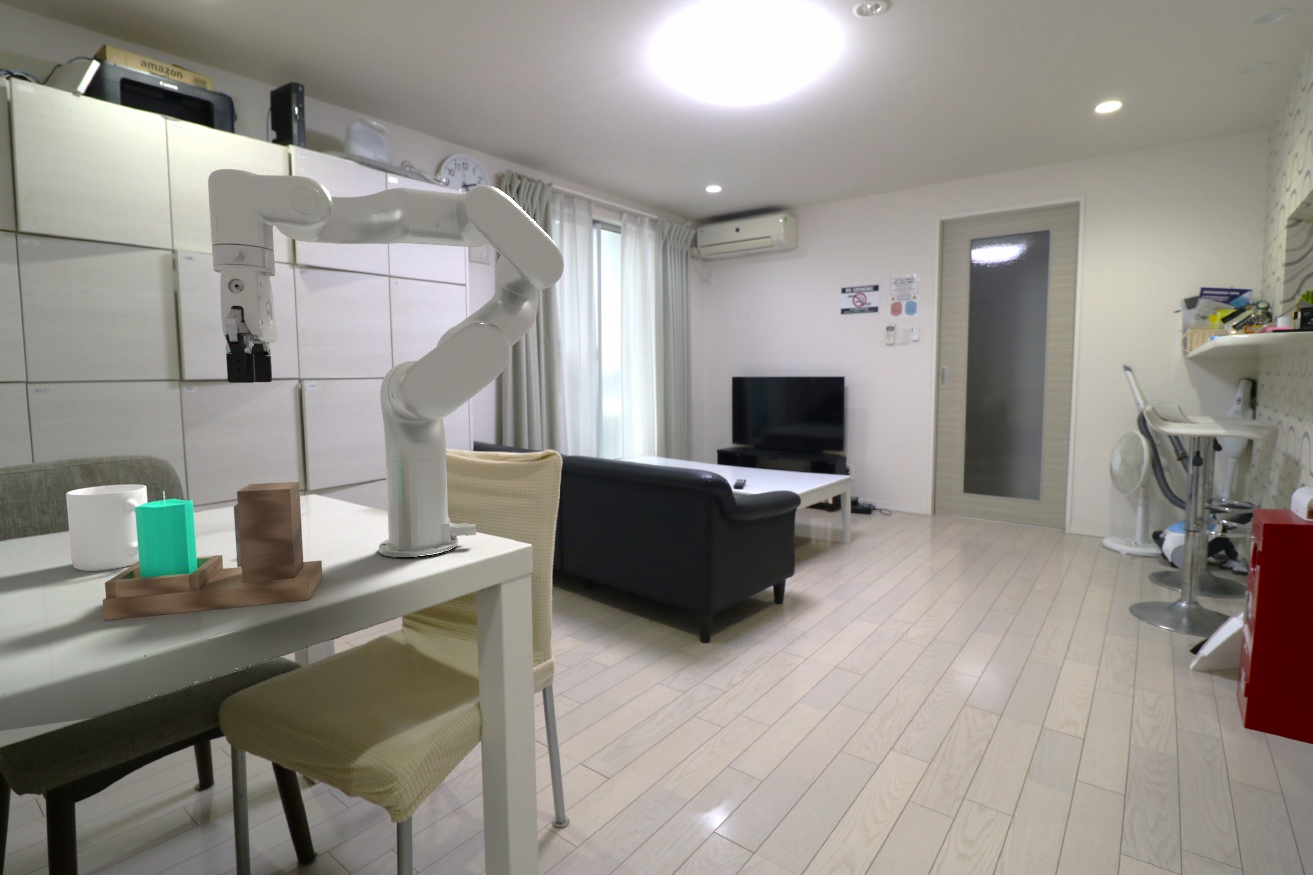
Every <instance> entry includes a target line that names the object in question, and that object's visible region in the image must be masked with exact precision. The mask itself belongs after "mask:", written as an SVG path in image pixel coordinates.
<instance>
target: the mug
mask: <svg viewBox="0 0 1313 875" xmlns="http://www.w3.org/2000/svg"><path fill="white" fill-rule="evenodd" d="M65 497H66V508H67V509H66V510H67V521H68V533H69V544H70V556H71V563H72V566H73V567H74V568H75V569H76V570H78V571H81V570H82V572H101V570H102V571H103V570H104V571H111V570H117V569H116V568H118V569H122V567H124V568H128V567H131V566H132V565H134V564H136V563H137V562H139V553H138V540H137V527H136V514H135V507H137V506H139V505H142V504H144V503H148V492H147V485H144V484H111V485H100V486H99V485H98V486H92V487H91V486H90V487H83V488H77V489H73V490H70V491H67V492H66V493H65ZM127 566H128V567H127ZM104 571H103V572H104Z"/></svg>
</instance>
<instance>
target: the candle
mask: <svg viewBox="0 0 1313 875" xmlns="http://www.w3.org/2000/svg"><path fill="white" fill-rule="evenodd" d="M162 494H163V496H162V497H163V499H162V500H155V501H150V502H149V501H148V502H147V503H144V504H142V505H139V506H137V507H135V514H136V527H137V540H138V553H139V566H140V578H143V577H155V576H167V575H179V574H191V573H193V572H194V571H195V570H196V569H197V557H198V556H197V545H196V541H197V540H196V531H195V529H196V528H195V516H194V515H195V514H194V499H190V500H189V499H188V500H183V499H178V498H177V499H176V498H170V499H169V498H168V499H166V495H165V494H166V493H165V490H163V491H162Z"/></svg>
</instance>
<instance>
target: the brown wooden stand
mask: <svg viewBox="0 0 1313 875" xmlns="http://www.w3.org/2000/svg"><path fill="white" fill-rule="evenodd" d="M300 491H301V488H300V481H291V482H287V481H286V482H267V483H265V482H264V483H263V482H262V483H250V484H247V485H246V486H244V487H242V488H241V489H238V490H237V491H236V497H237V499H236V500H237V504H235V505H233V516H234V517H233V519H234V535H235V537H234V538H235V550H236V551H235V552H236V565H237V567H226V568H224V564H223V555H222V554H216V555H204V556H197V569H196V570H195V571H194V572H193V573H191V574H179V575H167V576H155V577H143V578H140V566H139V562H137V563H136V564H134V565H133V566H128V567H127V568H126V569H125V570H123V571H122V572H119V573H118V574H117V575H115V576H113V577H112V578H110V579H109V580H107V581H106V582H104V589H105V598H103V599H102V608H103V611H102V612H103V621H108V620H109V621H110V620H117V619H118V620H120V619H132V618H141V617H149V616H159V615H160V616H162V615H170V614H181V613H191V612H200V611H209V610H221V609H222V610H223V609H231V608H238V607H249V606H261V605H262V606H263V605H272V604H279V603H280V604H281V603H288V602H289V603H291V602H298V601H299V602H302V601H310V600H311V598H312V596H313V595H314V593H315V592H316V589H317V588H318V586H319V584H320V582H321V580H322V579H323V561H322V560H313V561H304V549H303V533H302V532H303V529H302V511H301V508H302V507H301V493H300Z"/></svg>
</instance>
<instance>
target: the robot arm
mask: <svg viewBox="0 0 1313 875" xmlns="http://www.w3.org/2000/svg"><path fill="white" fill-rule="evenodd" d="M207 190H208V204H209V205H208V206H209V219H210V222H209V223H210V238H211V252H212V253H211V254H212V270H213V272H215V273H218V274H219V273H220V282H219V284H220V286H219V287H220V288H219V289H220V293H219V294H220V295H219V296H220V318H221V327H222V328H221V329H222V334H223V335H224V338H225V340H226V344H225V352H226V353H225V355H226V357H225V358H226V375H227V376H226V377H227V381H228V383H230V384H231V383H232V384H235V383H236V384H243V383H244V384H248V383H249V384H250V383H251V384H254V383H271V382H272V381H273V369H272V356H271V348H270V344H273V343H275V342H276V341H278V334H277V324H276V323H277V321H276V312H275V303H274V294H273V287H272V282H271V278H270V277H275V276H276V264H275V261H276V260H275V249H274V248H275V246H274V245H275V244H274V243H275V242H274V226H275V228H276V229H277V230H278V231H279V232H280V233H281V234H283V236H285V237H288V238H289V239H290V240H291V239H292V240H295V241H298V242H306V243H319V244H334V245H335V244H337V245H365V244H367V245H369V244H370V245H372V244H373V245H374V244H376V245H377V244H379V245H392V244H415V245H417V244H418V245H431V246H432V245H433V246H449V247H464V248H465V247H467V248H476V247H482V246H486V245H488V244H489V245H490V246H491V247H492V248H493V249H494V250H495V251H496V252H498V254H499V255H500V256H499V258H498V260H497V262H496V266H495V281H496V282H495V285H496V286H495V287H496V288H495V292H494V294H493V296H492V297H491V298H490V299H489V301H487V302H486V303H484V304H483V305H482V306H481V307H480V308H479V309H477V310H476V311H475V312H473V313H471V314H470V315H469V316H468V317H465V319H464V320H462V321H460V322H458V323H457V324H456V325H454V326H452V327H451V328H449V329H448V330H447V331H445V333H444V334H442V336H441V337H440V339H439V340H438V341H437V343H436V344H437V345H436V347H434V348H433V349H431V350H430V351H429V352H427V353H426V354H425V355H423V356H422V357H421V358H419V359H417V360H411V361H404V362H401V363H398V364H396V365H394V366H393V367H392V368H391V369H390V370H388V371H387V372H386V374H385V376H384V377H383V380H382V382H381V385H380V392H379V393H380V394H379V395H380V397H379V398H380V399H379V400H380V406H381V414H382V422H383V429H384V430H383V431H384V432H383V433H384V446H385V447H384V449H385V471H386V472H385V476H386V479H385V480H386V500H387V504H386V505H387V526H388V527H387V528H388V529H387V530H388V539H385V540H383V541H382V542H380V544H378V552H379V554H381V555H383V556H385V557H389V556H390V558H396V557H414V556H420V555H427V554H433V553H437V552H442V551H446V550H449V549H451V548H453V547H455V546H457V545H458V546H459V540H458V537H460V536H469V537H470V536H477V527H476V525H477V524H476V523H471V524H470V523H468V522H465V523H461V522H460V523H454V522H451V519H450V516H449V511H448V506H449V505H448V479H447V478H448V476H447V475H448V474H447V443H446V440H447V439H446V430H445V424H444V423H445V422H444V419H445V418H446V417H448V416H450V415H451V414H452V413H454V412H455V411H457V410H458V409H459V408H461V407H462V406H464V405H465V404H466V403H468V401H470V400H471V399H472V398H473V397H475V396H476V395H478V393H480V392H481V391H482V390H484V389H485V388H486V387H488V386H489V385H490V384H491V383H492V382H493V381H495V380H496V379H497V378H498V377H499V376H500V375H501V373H503V371H504V370H506V368H507V365H508V363H509V360H510V356H511V348H512V347H513V346H514V345H515V344H516V343H518V342H519V341H520V340H521V339H522V338H523V337H524V336H525V335H527V333H528V332H529V331H530V330H531V328H532V327H533V325H534V324H535V321H536V319H537V314H538V307H539V292H538V291H542V290H546V289H548V288H550V287H552V286H555V285H556V284H557V282H559V281H560V279H561V277H562V276H563V272H564V270H565V269H564V268H565V264H564V256H563V254H562V252H561V249H560V248H559V247H558V245H557V244H556V243H555V241H554V240H553V239H552V238H551V237H550V236H549V234H547V233H546V232H545V230H544V229H542V227H540V226H539V225H538V224H537V223H536V221H535V220H534V219H532V218H531V217H530V216H529V215H528V214H527V213H526V211H524V210H523V208H522V207H521V206H520V205H519V204H518V203H516V202H515V200H513V199H512V198H511V197H510V196H508V195H507V194H506V193H505V192H503V191H502V190H500V189H499V188H498V187H495V186H492V185H488V184H480V185H477V186H474V187H473V188H471V189H470V190H468V191H467V192H466V193H456V192H445V191H438V190H437V191H436V190H435V191H434V190H425V189H416V188H409V187H394V188H389V189H385V190H381V191H378V192H375V193H372V194H367V195H362V196H361V195H360V196H348V197H347V196H345V197H344V196H343V197H342V196H331V193H330V192H329V190H328V189H327V187H325V186H324V185H322V183H320V182H318V181H317V180H315V179H313V178H310V177H306V176H302V175H269V174H266V175H265V174H257V173H254V172H251V171H247V170H241V169H234V168H221V169H216V170H214V171H211V172H210V174H209V176H208V179H207ZM458 546H457V547H458Z"/></svg>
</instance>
